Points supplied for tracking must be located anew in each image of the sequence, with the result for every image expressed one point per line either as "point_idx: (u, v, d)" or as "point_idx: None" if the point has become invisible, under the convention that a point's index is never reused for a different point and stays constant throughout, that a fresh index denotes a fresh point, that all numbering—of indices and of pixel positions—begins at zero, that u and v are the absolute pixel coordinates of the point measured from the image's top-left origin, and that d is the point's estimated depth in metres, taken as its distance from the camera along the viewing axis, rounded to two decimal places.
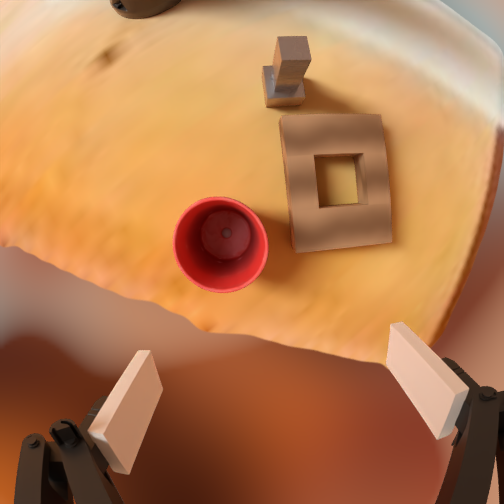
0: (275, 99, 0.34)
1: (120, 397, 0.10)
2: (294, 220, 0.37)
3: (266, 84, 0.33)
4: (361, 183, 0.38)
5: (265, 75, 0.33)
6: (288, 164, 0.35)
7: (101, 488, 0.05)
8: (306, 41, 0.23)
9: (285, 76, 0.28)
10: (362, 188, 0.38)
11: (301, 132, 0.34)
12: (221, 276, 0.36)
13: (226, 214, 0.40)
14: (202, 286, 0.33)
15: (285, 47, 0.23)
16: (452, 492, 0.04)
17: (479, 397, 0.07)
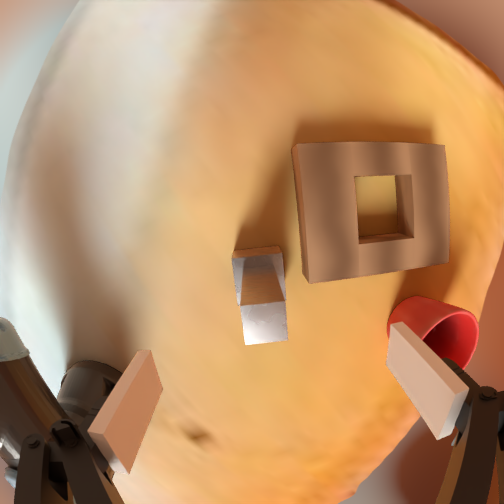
0: None
1: (120, 397, 0.10)
2: (422, 265, 0.29)
3: None
4: None
5: None
6: (368, 274, 0.29)
7: (101, 488, 0.05)
8: (250, 306, 0.19)
9: None
10: None
11: (332, 258, 0.29)
12: (456, 338, 0.29)
13: None
14: (467, 362, 0.26)
15: (265, 334, 0.20)
16: (452, 492, 0.04)
17: (479, 397, 0.07)
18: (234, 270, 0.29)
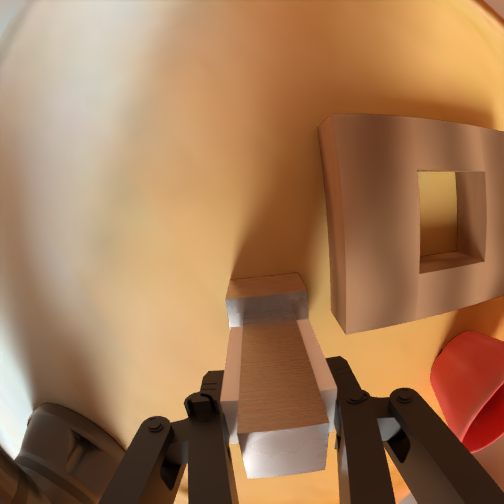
0: None
1: (238, 367, 0.12)
2: (488, 298, 0.18)
3: None
4: None
5: None
6: (426, 316, 0.18)
7: (223, 469, 0.07)
8: (258, 434, 0.08)
9: None
10: None
11: (381, 297, 0.18)
12: None
13: None
14: None
15: (286, 467, 0.08)
16: (349, 503, 0.05)
17: (347, 402, 0.09)
18: (230, 317, 0.18)
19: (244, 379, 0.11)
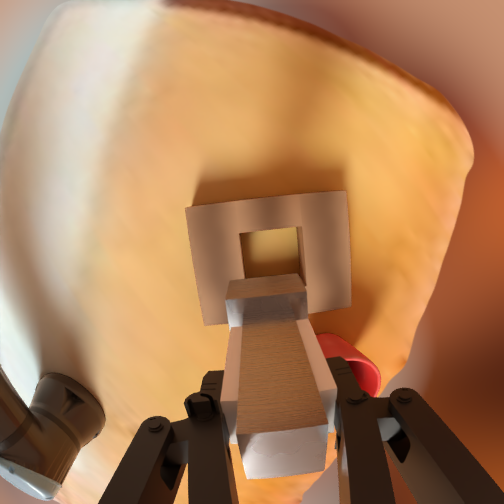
0: None
1: (238, 367, 0.12)
2: (318, 311, 0.34)
3: None
4: None
5: None
6: None
7: (223, 469, 0.07)
8: (257, 435, 0.08)
9: None
10: None
11: (222, 306, 0.33)
12: (363, 377, 0.34)
13: None
14: None
15: (285, 468, 0.08)
16: (349, 503, 0.05)
17: (347, 402, 0.09)
18: (229, 318, 0.18)
19: (243, 380, 0.11)
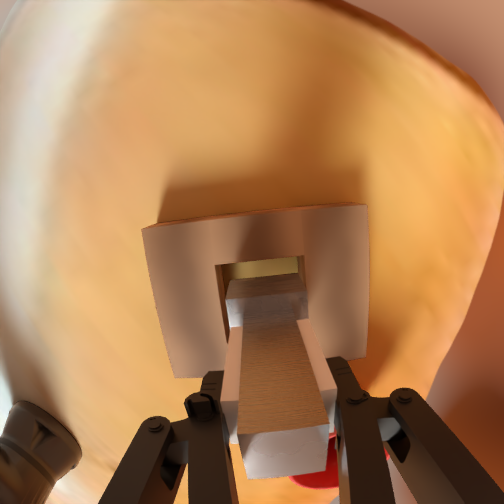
0: None
1: (238, 367, 0.12)
2: None
3: None
4: None
5: None
6: None
7: (223, 469, 0.07)
8: (258, 435, 0.08)
9: None
10: None
11: (195, 357, 0.24)
12: None
13: None
14: None
15: (286, 468, 0.08)
16: (349, 503, 0.05)
17: (347, 402, 0.09)
18: (230, 317, 0.18)
19: (244, 380, 0.11)
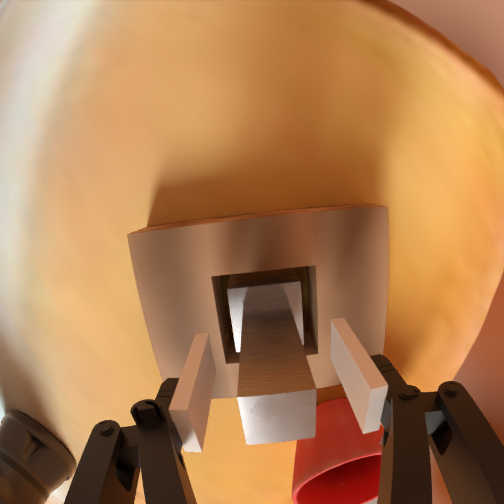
0: None
1: (193, 375, 0.12)
2: (332, 384, 0.21)
3: None
4: None
5: None
6: None
7: (175, 473, 0.07)
8: (255, 398, 0.10)
9: None
10: None
11: None
12: None
13: None
14: None
15: (280, 433, 0.10)
16: (390, 496, 0.05)
17: (399, 397, 0.09)
18: (231, 305, 0.20)
19: (243, 355, 0.13)
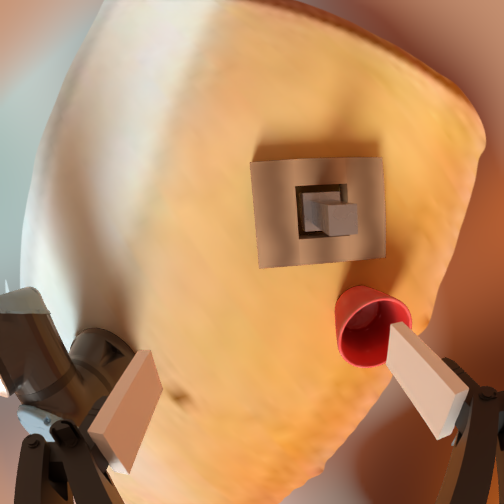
0: None
1: (120, 397, 0.10)
2: (358, 259, 0.38)
3: None
4: None
5: (316, 229, 0.38)
6: (307, 263, 0.39)
7: (101, 488, 0.05)
8: (334, 206, 0.27)
9: None
10: None
11: (276, 250, 0.38)
12: None
13: None
14: None
15: (343, 228, 0.28)
16: (452, 492, 0.04)
17: (479, 397, 0.07)
18: (304, 202, 0.37)
19: (323, 203, 0.30)
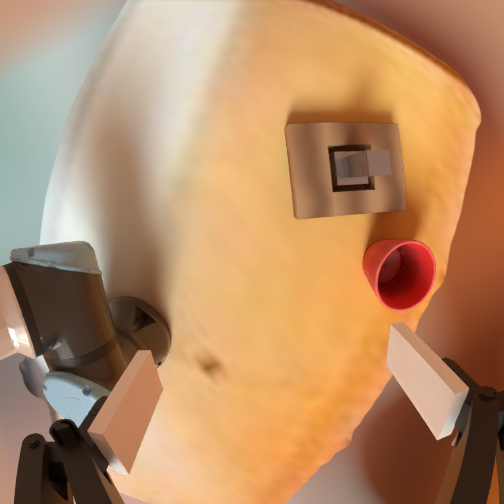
0: (366, 176, 0.41)
1: (120, 397, 0.10)
2: (383, 211, 0.41)
3: (355, 183, 0.40)
4: (349, 146, 0.41)
5: (347, 183, 0.40)
6: (340, 214, 0.41)
7: (101, 488, 0.05)
8: (372, 151, 0.30)
9: None
10: (353, 146, 0.41)
11: (313, 201, 0.41)
12: (420, 271, 0.41)
13: None
14: (429, 289, 0.38)
15: (380, 169, 0.30)
16: (452, 492, 0.04)
17: (479, 397, 0.07)
18: (336, 159, 0.40)
19: (359, 152, 0.33)
